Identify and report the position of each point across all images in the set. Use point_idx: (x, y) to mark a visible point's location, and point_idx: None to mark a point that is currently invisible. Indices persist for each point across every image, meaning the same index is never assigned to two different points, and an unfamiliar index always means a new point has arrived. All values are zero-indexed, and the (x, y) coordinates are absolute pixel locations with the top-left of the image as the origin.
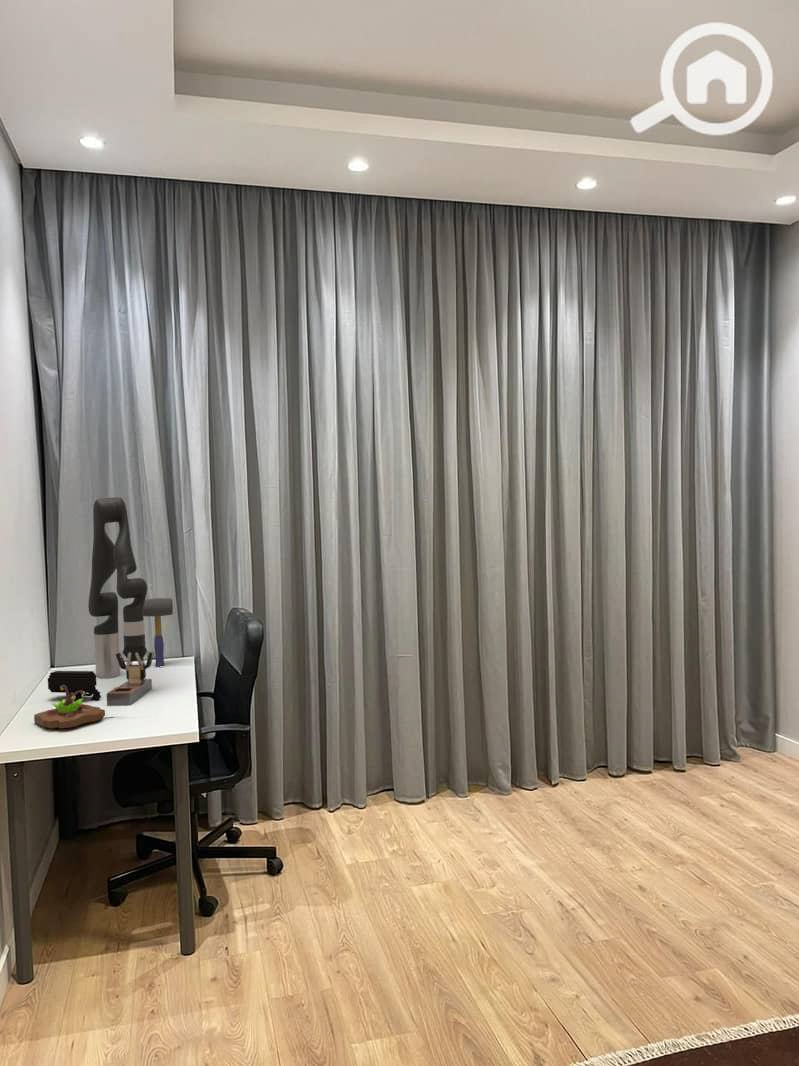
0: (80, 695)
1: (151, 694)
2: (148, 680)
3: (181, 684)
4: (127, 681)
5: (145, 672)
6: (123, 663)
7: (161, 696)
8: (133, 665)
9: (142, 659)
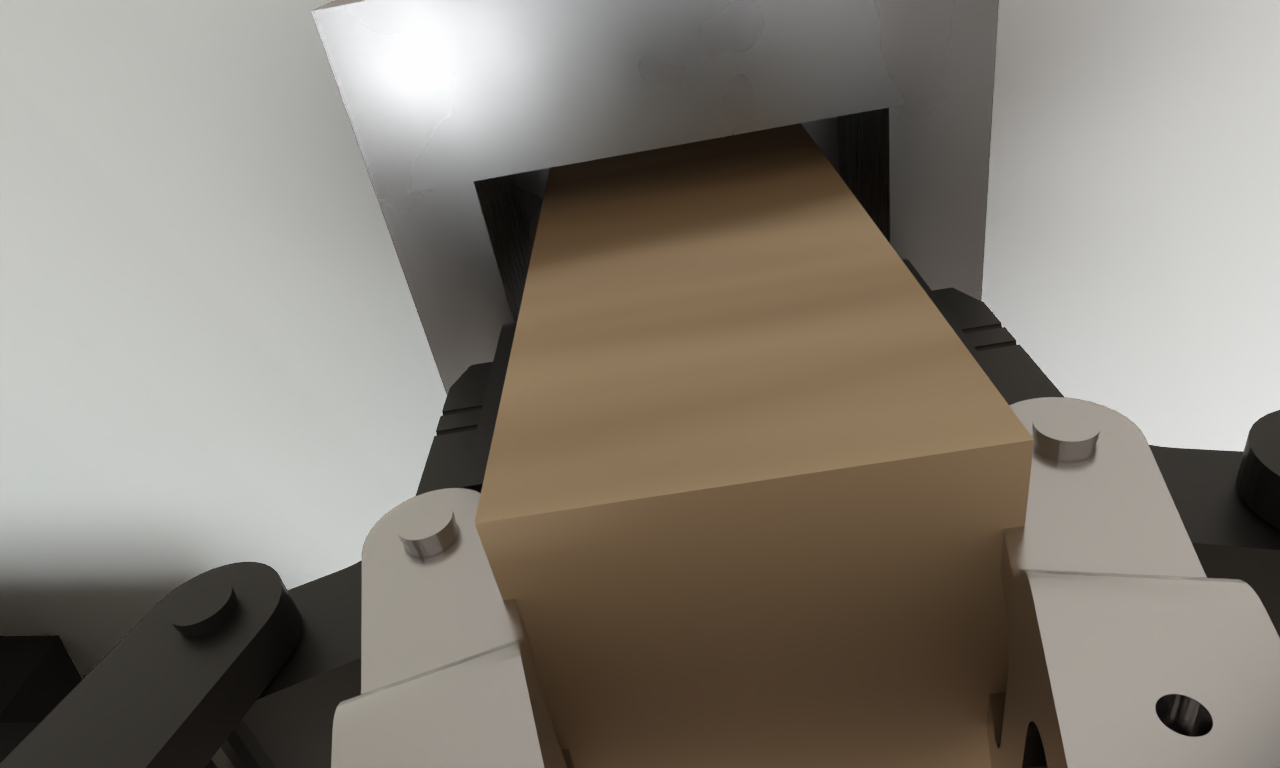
0: (32, 706)
1: (1015, 320)
2: (972, 144)
3: None
4: (430, 293)
5: (1037, 386)
6: (149, 765)
7: (1220, 430)
8: (655, 653)
9: (1212, 763)
